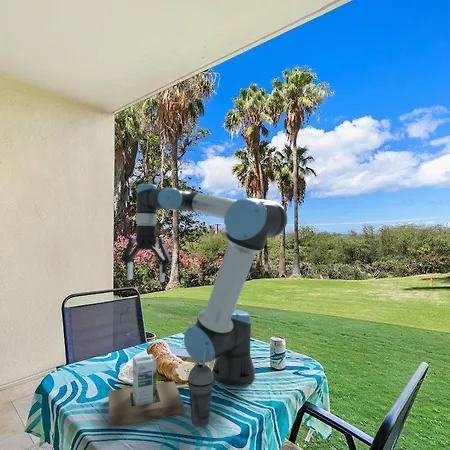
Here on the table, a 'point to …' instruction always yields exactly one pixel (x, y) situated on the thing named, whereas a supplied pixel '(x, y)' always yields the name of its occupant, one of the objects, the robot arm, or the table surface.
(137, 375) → the syrup box
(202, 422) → the beverage cup
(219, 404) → the table surface
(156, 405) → the walnut board
